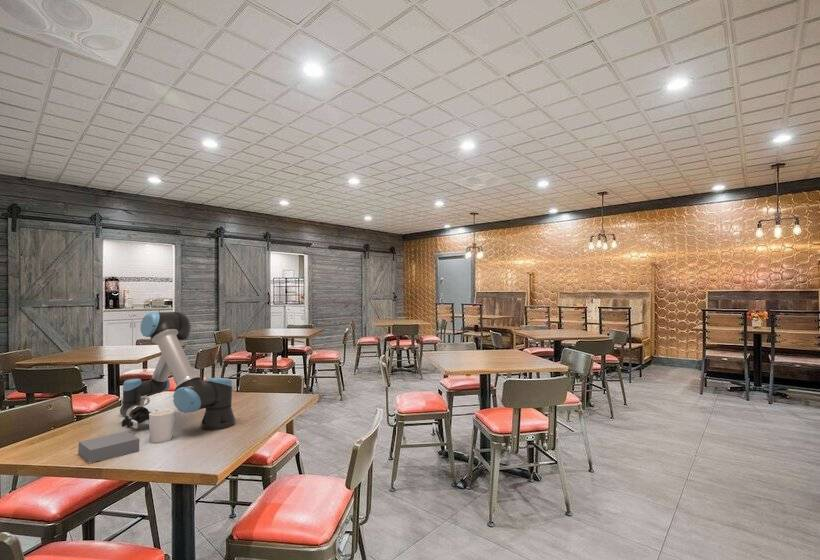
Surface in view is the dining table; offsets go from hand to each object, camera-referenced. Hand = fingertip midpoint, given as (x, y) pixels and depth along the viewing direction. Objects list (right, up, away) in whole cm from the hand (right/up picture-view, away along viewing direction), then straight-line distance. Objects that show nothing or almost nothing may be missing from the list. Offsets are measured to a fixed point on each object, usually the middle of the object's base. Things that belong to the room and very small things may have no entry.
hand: (153, 421), depth 179 cm
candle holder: (+7, -6, -6) cm, 11 cm away
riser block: (-5, -5, -21) cm, 22 cm away
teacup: (-33, -9, +35) cm, 49 cm away
